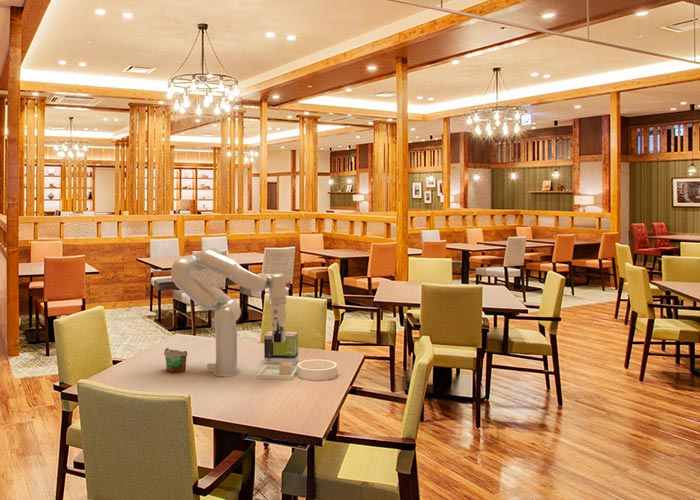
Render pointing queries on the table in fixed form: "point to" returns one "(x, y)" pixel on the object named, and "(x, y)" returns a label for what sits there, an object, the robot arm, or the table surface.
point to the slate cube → (281, 336)
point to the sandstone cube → (286, 368)
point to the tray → (275, 373)
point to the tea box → (281, 349)
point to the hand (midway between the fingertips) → (279, 340)
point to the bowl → (317, 369)
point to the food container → (175, 360)
